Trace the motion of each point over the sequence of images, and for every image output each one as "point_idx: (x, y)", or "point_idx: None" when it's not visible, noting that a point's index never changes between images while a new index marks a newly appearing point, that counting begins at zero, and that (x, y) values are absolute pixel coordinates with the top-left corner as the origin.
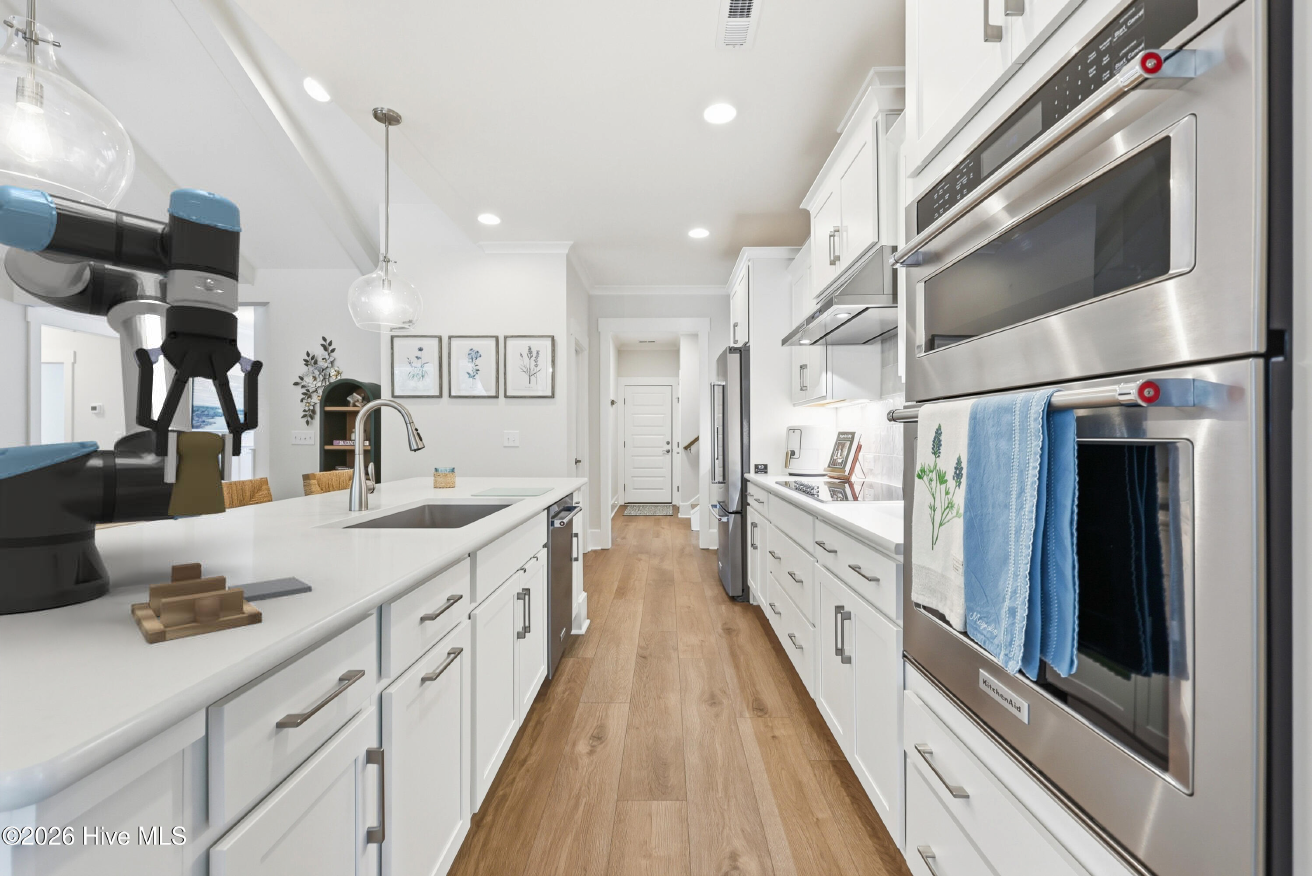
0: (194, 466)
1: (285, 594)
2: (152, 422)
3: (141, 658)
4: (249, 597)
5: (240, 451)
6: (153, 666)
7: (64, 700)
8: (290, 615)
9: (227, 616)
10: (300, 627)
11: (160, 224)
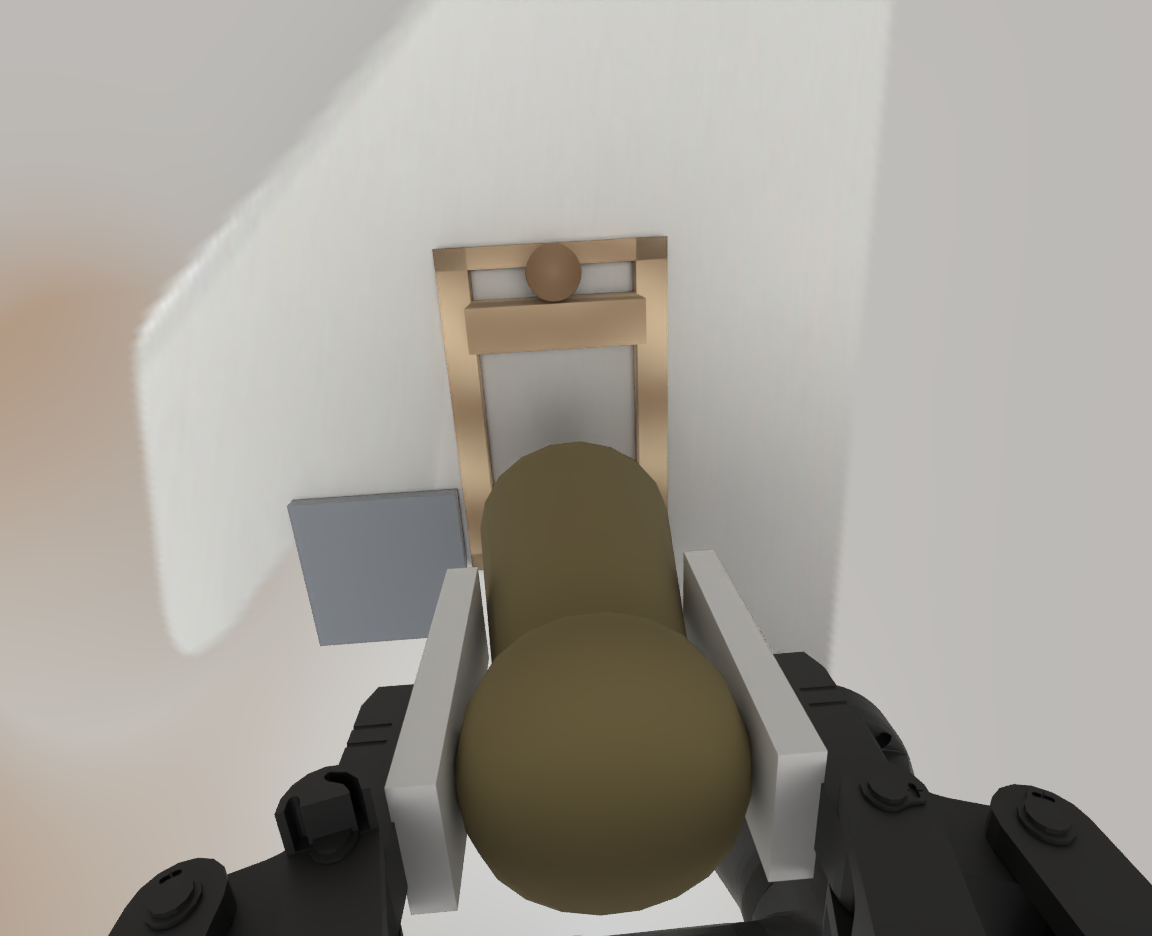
0: (622, 575)
1: (357, 496)
2: (974, 850)
3: (685, 117)
4: (439, 494)
5: (363, 712)
6: (674, 20)
7: None
8: (366, 269)
9: (505, 300)
10: (356, 114)
11: None
